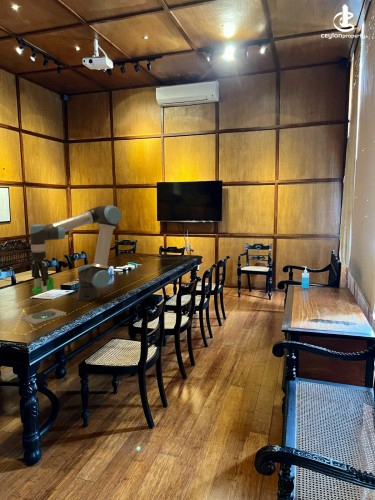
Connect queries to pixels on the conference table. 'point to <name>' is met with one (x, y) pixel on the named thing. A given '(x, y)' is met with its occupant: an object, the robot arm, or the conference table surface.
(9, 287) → the conference table surface
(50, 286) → the mechanical part
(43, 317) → the carrier plate
